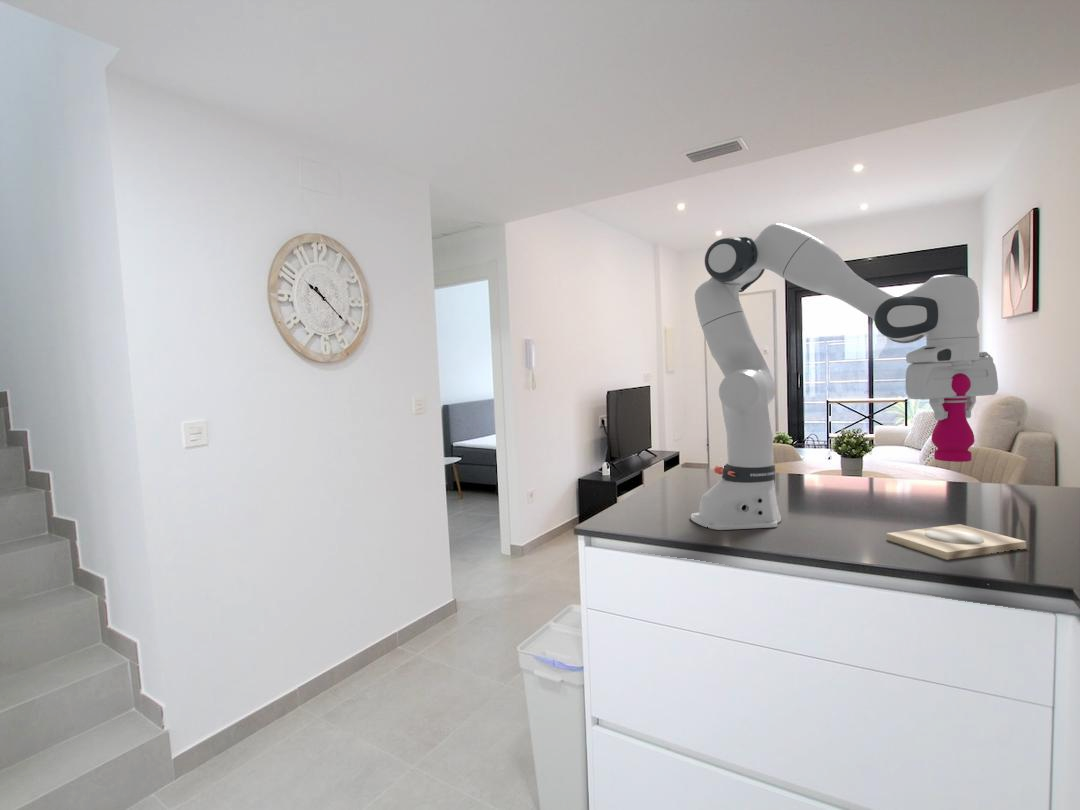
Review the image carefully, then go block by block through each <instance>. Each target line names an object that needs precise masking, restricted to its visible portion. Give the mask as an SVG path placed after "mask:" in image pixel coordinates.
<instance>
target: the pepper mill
mask: <svg viewBox="0 0 1080 810" xmlns="http://www.w3.org/2000/svg"><path fill="white" fill-rule="evenodd" d="M951 379H953V380H952V389H953V391H954V392H955V393H956V396H954V397H951V398H944V403H943V404H942V406H943V408H944V411H948V415H947V416H948V419H947V420H937V423H936V424H935V426H934V428H933V431H932V433H931V439H930V440H931V442H932V443H933V445H934V446H935V447H936V448H937V449H935V450H934V452H933V454H934V455H933V457H934V460H936V461H940V462H941V461H942V462H952V463H955V462H956V463H963V462H971V461H972V456H973V454H972V451H970V450H969V449H970V448H971V447H973V445H974V443H975V442H976V440H975V434H974V432H973V430H972V428H971V426H970V424H969V422H968V418H966V416H965V402H968V400H967V397H968V396H967V395H966V396H965V394H966V392H967V391H968V390H969V389H970V387H971V382H970V379H969V378H968V376H966V375H965V374H962V373H958V374H955V375H954V376H953V377H952V378H951Z"/></svg>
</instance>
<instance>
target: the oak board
mask: <svg viewBox="0 0 1080 810" xmlns="http://www.w3.org/2000/svg"><path fill="white" fill-rule="evenodd" d="M886 540H887V541H888V542H892V543H894V544H898V545H901V546H904V547H907V548H910V549H913V550H916V551H919V552H922V553H925V554H928V555H931V556H934V557H937V558H940V559H943V560H946V561H948V560H955V559H963V558H969V557H971V558H972V557H976V556H983V555H991V553H992V554H997V552H999V553H1004V551H1006V552H1011V551H1010V550H1013V551H1018V550H1017V549H1020V550H1026V549H1027V541H1026V540H1024V539H1023V540H1022V539H1019V538H1014V537H1012V536H1007V535H1003V534H999V533H995V532H992V531H987V530H984V529H980V528H976V527H973V526H968V525H964V524H962V523H961V524H960V523H957V524H950V525H949V524H948V525H940V526H933V527H926V528H917V529H909V530H900V531H893V532H886Z"/></svg>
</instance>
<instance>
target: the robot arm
mask: <svg viewBox="0 0 1080 810" xmlns="http://www.w3.org/2000/svg"><path fill="white" fill-rule="evenodd" d="M704 266H705V270H706V271H707V273H708V274H709V275H710V276H711V277H710V278H709V279H708V280H706V281H704V282H703V283H702V284H700V285H699V286H698V287H697V288H696V290H695V293H694V302H695V307H696V312H697V317H698V320H699V323H700V326H701V329H702V331H703V334H704V337H705V340H706V342H707V345H708V349H709V350H710V351H709V352H710V354H711V357H712V358H713V359H714V361H715V362H716V364H717V365H718V367H719V368H720V369H719V370H720V371H721V372H722V374H723V376H724V378H723V379H722V381H721V382H720V385H719V386H718V387H719V388H718V396H719V399H720V401H721V409H722V416H723V420H724V425H725V431H726V446H727V447H726V450H727V452H726V453H727V464H725V467H723V466H720V465H716V466H714V467H713V473H715V474H718V475H721V479H720V480H718V481H717V483H715V484H714V485H713V486H712V487H710V489H709V490H707V491H706V492H705V493H703V495H702V496H701V498H700V502H699V512H693V513H691V514H690V520H691V521H692V522H693V523H695V524H698V525H700V526H702V527H705V528H707V527H708V528H707V529H710V530H717V531H726V530H727V531H728V530H748V529H763V528H764V529H766V528H767V529H768V528H777V527H778V523H780V522H781V521H782V516H781V513H780V511H779V506H778V503H777V501H778V500H777V496H776V495H777V494H776V488H775V483H776V479H777V478H776V465H775V464H774V445H773V444H774V443H773V442H774V440H773V439H774V437H773V436H774V435H773V432H772V426H771V420H770V419H771V418H770V414H769V413H770V412H769V405H770V403H771V402H772V401H773V399H775V395H776V390H777V386H776V382H775V380H774V378H773V374H772V373H771V371H770V369H769V367H768V365H767V363H766V360H765V359H764V356H763V354H762V352H761V350H760V349H759V346H758V345H757V343H756V340H755V337H754V335H753V332H752V330H751V327H750V325H749V322H748V319H747V317H746V314H745V312H744V308H743V307H742V304H741V301H740V297H739V293H743V292H744V291H746V290H747V289H748V288H749V287H750V286H751V285H753V284H754V283H756V282H757V281H758V280H759V279H760V278H761V277H762V275H763V274H764V272H765V270H767V271H768V270H769V271H771V272H773V273H775V274H776V275H778V276H779V277H781V278H783V279H784V280H786V281H787V282H789V283H791V284H793V285H796V286H797V287H800V288H802V289H805V290H809V291H812V292H815V293H818V294H822V295H826V296H830V297H833V298H835V299H838V300H840V301H842V302H844V303H846V304H848V305H850V306H851V307H852V308H854V309H856V310H857V311H860V312H861V313H863V314H864V315H866V316H868V317H869V318H870V319H872V320H873V321H874V325H875V327H876V329H877V330H878V332H879V333H880V334H881V335H883V337H886V338H887V339H889V340H891V341H893V342H895V343H898V344H912V343H914V342H916V341H919V340H921V339H922V338H924V337H925V338H926V343H925V344H926V345H924V346H921V347H920V348H918V349H915V350H913V351H910V352H908V353H906V356H905V359H906V360H905V361H906V363H908V364H909V365H908V366H907V368H906V370H905V394H906V396H907V397H908V398H909V400H929V402H928V403H929V405H930V407H931V409H932V411H933V412H934V413H933V414H934V420H935V421H938V420H947V419H948V416H947V415H948V411H944V408H943V406H942V404H943V403H944V398H951V397H954V396H956V393H955V392H954V391H953V389H952V380H953V379H951V378H952V377H953V376H954V375H955V374H958V373H962V374H965V375H966V376H968V378H969V379H970V382H971V387H970V389H969V390H968V391H967V392H966V394H965V396H966V395H967V396H968V397H967V400H968V402H965V416H966V419H970V418H971V417H972V410H973V408H974V406H975V404H976V402H977V397H982V396H995V395H996V394H997V392H998V390H999V381H998V379H999V378H998V371H997V367H996V364H995V363H994V358H993V357H992V356H991V355H990V353H988V352H987V351H980V333H979V331H978V321H979V318H980V299H979V298H980V296H979V291H978V285H977V283H976V282H975V280H973V279H972V278H971V277H969V276H965V275H961V274H938V275H933V276H931V277H930V278H929V279H928V280H926V281H925V282H924V283H922V284H920V285H918V286H917V287H915V288H913V289H911V290H908V291H905V292H904V293H900V294H897V295H895V296H894V295H891V294H889V293H887V292H886V291H884V290H882V289H881V288H879V287H877V286H876V285H873V284H872V283H870V282H868V281H866V279H863V278H862V277H861V276H859V275H858V274H857V273H855V272H854V271H853V269H851V267H850V266H849V265H848V264H847V263H846V262H845V261H844V260H843V258H842V257H841V256H840V255H839V254H838V253H837V252H836V251H835V250H834V249H833V248H831V247H830V245H828V244H826V243H825V242H823V241H822V240H820V239H819V238H817V237H815V236H814V235H811V234H810V233H808V232H805V231H803V230H801V229H798V228H796V227H794V226H793V227H792V226H790V225H788V224H783V223H779V222H777V223H776V222H775V223H773V224H770V225H768V226H766V227H765V228H764V229H763V230H761V232H760V233H759V235H758V236H757V237H756V238H755V239H752V238H751V237H749V236H739V237H738V236H736V237H735V236H732V237H730V236H729V237H724V238H721V239H718V240H716V241H714V242H713V243H712V244H711V245H710V246H709V247H708V248H707V251H706V252H705V255H704Z"/></svg>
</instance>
